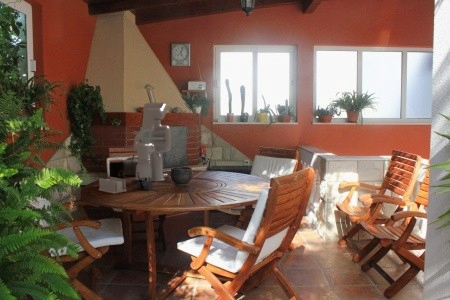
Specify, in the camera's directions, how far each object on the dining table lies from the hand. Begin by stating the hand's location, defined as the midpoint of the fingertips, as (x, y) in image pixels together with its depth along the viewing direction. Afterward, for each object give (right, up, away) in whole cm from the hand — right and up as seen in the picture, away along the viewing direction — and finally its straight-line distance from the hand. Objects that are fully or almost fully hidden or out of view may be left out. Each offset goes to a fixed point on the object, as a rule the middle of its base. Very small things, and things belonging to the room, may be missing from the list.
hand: (144, 187), depth 284 cm
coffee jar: (-23, +1, +16) cm, 28 cm away
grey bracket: (-1, -1, -2) cm, 2 cm away
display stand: (-20, -1, -6) cm, 21 cm away
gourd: (-20, +5, +62) cm, 65 cm away
